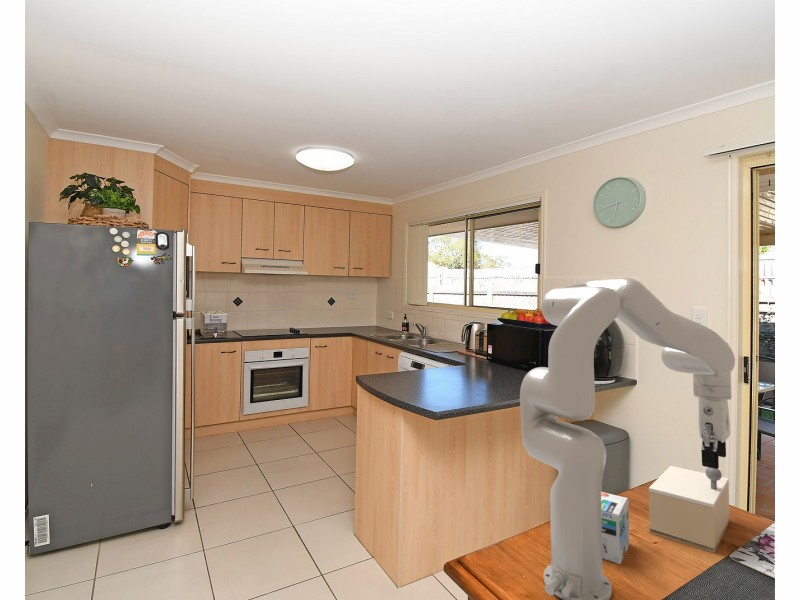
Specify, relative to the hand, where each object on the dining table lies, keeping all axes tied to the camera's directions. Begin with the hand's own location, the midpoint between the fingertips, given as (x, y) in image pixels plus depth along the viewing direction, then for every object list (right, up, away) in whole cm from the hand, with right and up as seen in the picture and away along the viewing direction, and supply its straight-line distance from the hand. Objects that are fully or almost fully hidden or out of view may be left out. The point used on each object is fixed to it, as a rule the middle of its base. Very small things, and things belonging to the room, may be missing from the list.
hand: (714, 461), depth 106 cm
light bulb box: (-28, -18, -6) cm, 34 cm away
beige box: (-4, -18, +3) cm, 18 cm away
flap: (-4, -7, +3) cm, 9 cm away
